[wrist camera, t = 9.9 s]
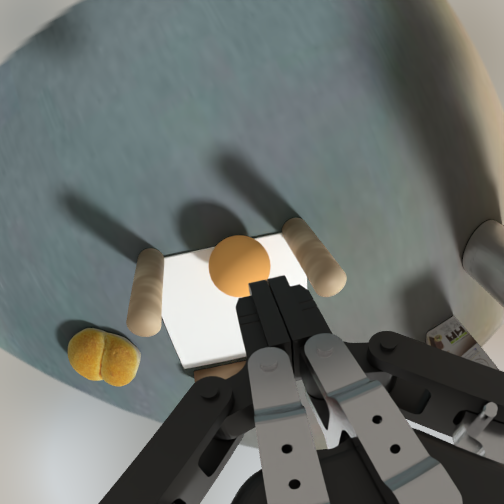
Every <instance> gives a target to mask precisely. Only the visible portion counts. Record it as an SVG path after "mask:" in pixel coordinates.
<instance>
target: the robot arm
mask: <svg viewBox="0 0 504 504" xmlns="http://www.w3.org/2000/svg"><path fill="white" fill-rule="evenodd" d="M463 268H464V270H465V271H466V272H467V273H468V274H469V275H470V276H471V277H472V278H473V279H475V280H476V281H477V282H478V283H479V284H480V285H481V286H482V287H483V288H484V289H485V290H486V291H487V292H488V293H489V294H490V295H491V296H492V297H493V298H494V299H495V300H496V301H498V302H499V303H500V304H501V305H502V306H503V307H504V225H501V224H500V223H498V222H497V221H495V220H488V221H486V222H484V223H483V224H482V225H480V226H479V227H478V228H477V229H476V231H475V232H474V233H473V235H472V236H471V238H470V240H469V241H468V244H467V246H466V248H465V252H464V255H463ZM248 286H249V292H250V296H246V297H242V298H238V301H237V304H236V307H235V308H236V313H237V317H238V322H239V327H240V331H241V335H242V340H243V344H244V348H245V352H246V356H247V360H246V363H245V365H244V367H243V368H242V369H241V370H240V371H239V372H238V373H237V374H235V375H233V376H231V377H229V378H227V379H223V378H221V377H218V376H208V377H204V378H202V379H200V380H198V381H196V382H195V383H194V384H193V385H192V387H191V388H190V389H189V391H188V392H187V393H186V394H185V396H184V397H183V398H182V400H181V401H180V402H179V404H178V405H177V406H176V407H175V409H174V410H173V411H172V413H171V414H170V415H169V417H168V418H167V419H166V420H165V422H164V423H163V424H162V426H161V427H160V428H159V429H158V431H157V432H156V433H155V434H154V436H153V437H152V438H151V440H150V441H149V442H148V443H147V445H146V446H145V447H144V448H143V450H142V451H141V452H140V453H139V455H138V456H137V457H136V458H135V460H134V461H133V462H132V463H131V465H130V466H129V467H128V468H127V470H126V471H125V472H124V473H123V474H122V476H121V477H120V478H119V480H118V481H117V482H116V483H115V484H114V486H113V487H112V488H111V489H110V491H109V492H108V493H107V494H106V495H105V496H104V498H103V499H102V500H101V501H100V502H99V504H200V502H201V501H202V499H203V498H204V497H205V495H206V494H207V492H208V491H209V489H210V488H211V486H212V485H213V483H214V482H215V480H216V479H217V477H218V476H219V474H220V472H221V471H222V470H223V468H224V466H225V465H226V463H227V462H228V460H229V459H230V457H231V455H232V454H233V452H234V451H235V449H236V447H237V446H238V444H239V443H240V441H241V440H242V438H243V436H244V433H245V432H247V431H249V430H251V429H253V428H254V427H256V433H257V440H258V446H259V453H260V459H261V465H262V469H261V470H259V471H258V472H256V473H255V474H253V475H252V476H251V477H250V478H249V479H248V480H247V481H246V482H245V483H244V484H243V485H242V486H241V488H240V489H239V491H238V492H237V494H236V496H235V497H234V499H233V501H232V503H231V504H504V372H502V371H499V370H497V369H494V368H491V367H488V366H485V365H483V364H480V363H477V362H474V361H471V360H469V359H466V358H463V357H460V356H457V355H455V354H452V353H449V352H446V351H444V350H441V349H438V348H436V347H433V346H430V345H427V344H425V343H422V342H419V341H417V340H414V339H411V338H409V337H406V336H403V335H401V334H398V333H395V332H392V331H382V332H379V333H376V334H375V335H373V336H372V337H371V339H370V340H369V343H347V342H344V341H342V339H340V338H339V337H338V336H336V335H333V334H332V332H331V331H330V329H329V327H328V325H327V323H326V321H325V319H324V318H323V316H322V314H321V312H320V310H319V308H317V305H316V303H315V301H314V300H313V298H312V296H311V294H310V292H309V290H307V289H306V288H304V287H303V286H301V285H300V284H298V285H294V286H290V285H289V283H288V281H287V279H286V277H285V275H283V276H278V277H274V278H269V279H267V280H266V279H265V280H261V281H256V282H252V283H248ZM298 380H302V381H303V383H304V386H305V396H306V398H307V400H308V402H309V404H310V406H311V408H312V411H313V413H314V415H315V417H316V419H317V421H318V423H319V425H320V427H321V429H322V431H323V433H324V436H325V439H326V444H327V447H328V449H323V450H316V448H315V444H314V440H313V436H312V432H311V429H310V425H309V421H308V417H307V414H306V410H305V408H304V406H302V404H301V400H300V397H299V393H298V389H297V385H296V381H298ZM406 419H408V420H410V421H412V422H415V423H418V424H420V425H422V426H425V427H427V428H430V429H433V430H435V431H437V432H440V433H443V434H446V435H448V436H451V437H453V442H454V445H453V444H451V443H448V442H446V441H443V440H441V439H439V438H436V437H434V436H432V435H429V434H427V433H425V432H422V431H420V430H417V429H414V428H411V427H410V425H409V423H408V422H407V420H406Z"/></svg>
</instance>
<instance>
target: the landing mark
mask: <svg viewBox="0 0 504 504" xmlns="http://www.w3.org/2000/svg"><path fill="white" fill-rule="evenodd" d="M253 239H255V240H257V241H258V242H259V243H261V244H262V246H263V247H264V248H265V249H266V251H267V253H268V255H269V259H270V265H271V267H270V274H269V277H268V279H269V278H274V277H278V276H283V275H285V277H286V279H287V281H288V283H289V285H290V286H294V285H298V284H300V285H301V286H303V287H304V288H306V289H307V276H306V274H305V272H304V271H303V269H302V267H301V266H300V264H299V262H298V261H297V259H296V257H295V256H294V254H293V252H292V251H291V249H290V247H289V246H288V244H287V242H286V241H285V239H284V237H283V234H282V233H277V234H272V235H267V236H263V237H258V238H253ZM215 247H216V246H215ZM215 247H210V248H206V249H201V250H196V251H192V252H187V253H182V254H178V255H173V256H169V257H164V276H163V293H162V318H163V321H164V323H165V326H166V328H167V330H168V333H169V335H170V338H171V340H172V342H173V345H174V347H175V349H176V351H177V354H178V356H179V358H180V361H181V363H182V365H183V367H184V369H187V368H192V367H198V366H203V365H208V364H213V363H218V362H223V361H228V360H232V359H237V358H242V357H246V352H245V348H244V344H243V340H242V335H241V331H240V327H239V322H238V317H237V313H236V308H235V307H236V304H237V301H238V298H242V297H232V296H229V295H227V294H225V293H223V292H221V291H220V290H219V289H218V288H217V287H216V286H215V285H214V283H213V282H212V280H211V277H210V274H209V268H208V267H209V258H210V255H211V253H212V251H213V249H214V248H215Z"/></svg>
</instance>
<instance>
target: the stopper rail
mask: <svg viewBox="0 0 504 504" xmlns="http://www.w3.org/2000/svg"><path fill="white" fill-rule="evenodd" d="M245 363H246V361H241V362H237V363H232V364H227V365H222V366H218V367H213V368H207V369H202V370H197V371H194V378H195V382H196V381H198V380H200V379H202V378H204V377H208V376H218V377H221V378H223V379H227V378H229V377H231V376H233V375H235V374H237V373H238V372H239V371H240V370H241V369H242V368H243V367H244V365H245Z"/></svg>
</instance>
